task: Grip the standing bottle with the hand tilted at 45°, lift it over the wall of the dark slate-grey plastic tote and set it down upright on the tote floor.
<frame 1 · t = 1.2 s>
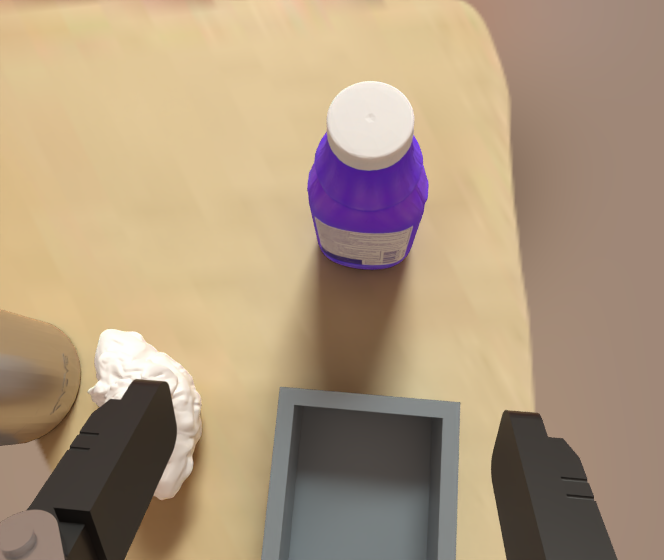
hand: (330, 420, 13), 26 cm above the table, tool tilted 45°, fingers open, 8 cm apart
bottle: (366, 239, 41), on the table
bust: (168, 407, 39), on the table
tote: (359, 516, 36), on the table
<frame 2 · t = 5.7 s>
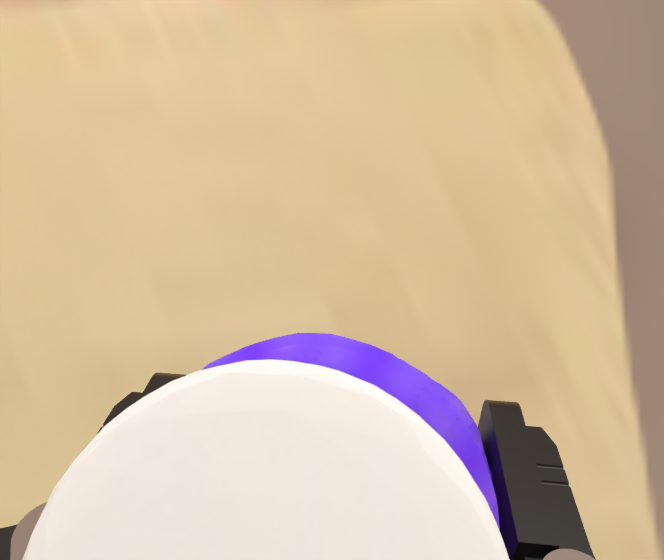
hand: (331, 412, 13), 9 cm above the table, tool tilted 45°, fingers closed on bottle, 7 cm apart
bottle: (341, 451, 21), on the table, touching gripper
when the fingers open (10 cm above the table, at t = 13.1 s): bottle stays where it is, resting on tote.
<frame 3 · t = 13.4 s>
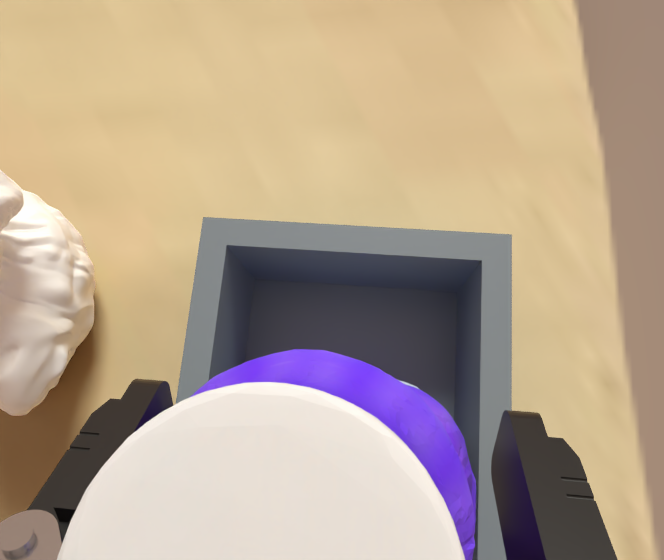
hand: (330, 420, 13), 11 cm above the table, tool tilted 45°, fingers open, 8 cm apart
bottle: (339, 455, 22), point 1 cm above the table, touching tote
bust: (52, 291, 26), on the table
tote: (343, 448, 23), on the table
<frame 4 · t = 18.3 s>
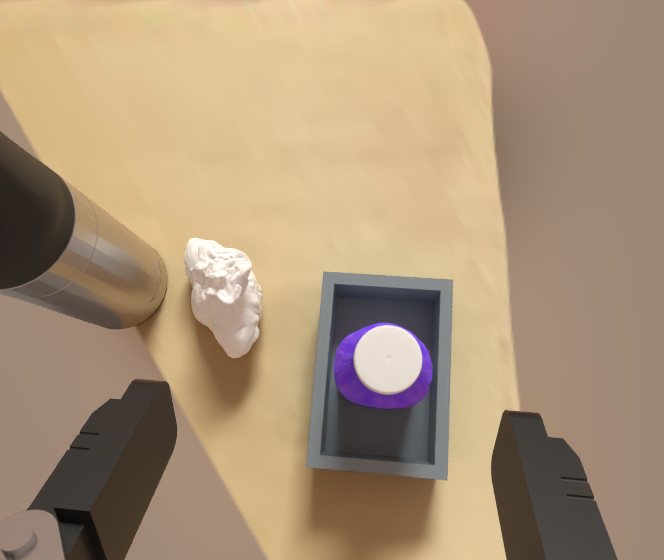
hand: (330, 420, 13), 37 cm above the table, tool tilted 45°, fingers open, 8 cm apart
bottle: (378, 376, 48), point 1 cm above the table, touching tote
bust: (234, 301, 52), on the table
tote: (380, 375, 49), on the table
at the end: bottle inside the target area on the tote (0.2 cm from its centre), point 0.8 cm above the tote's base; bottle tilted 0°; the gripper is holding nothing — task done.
